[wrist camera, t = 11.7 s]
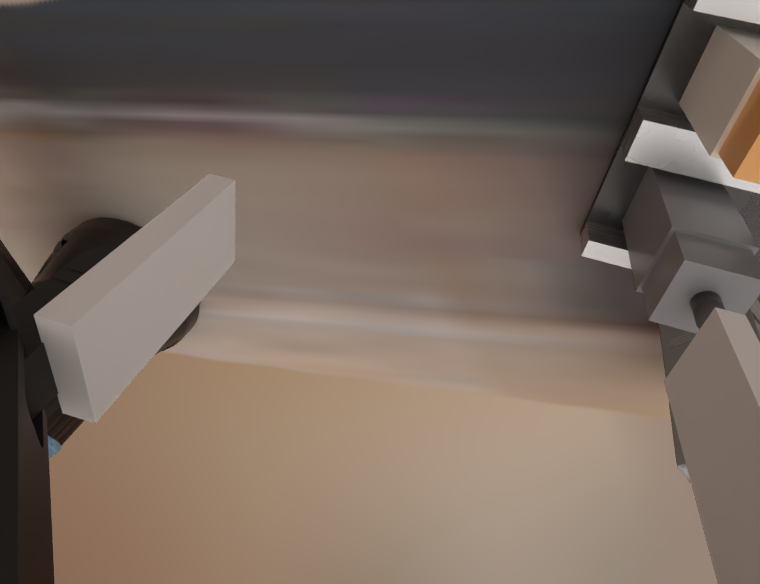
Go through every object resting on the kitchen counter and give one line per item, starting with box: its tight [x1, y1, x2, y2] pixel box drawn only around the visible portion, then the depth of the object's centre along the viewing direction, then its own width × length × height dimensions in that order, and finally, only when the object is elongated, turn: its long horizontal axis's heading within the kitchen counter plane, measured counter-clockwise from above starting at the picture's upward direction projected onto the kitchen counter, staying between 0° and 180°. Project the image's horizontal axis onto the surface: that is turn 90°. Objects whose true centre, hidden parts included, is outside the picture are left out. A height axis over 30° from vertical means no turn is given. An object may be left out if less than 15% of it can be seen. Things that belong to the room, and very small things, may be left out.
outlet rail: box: [580, 0, 760, 269], centre depth 34 cm, size 9×17×4 cm, turn 171°
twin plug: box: [622, 167, 760, 334], centre depth 32 cm, size 4×4×14 cm
